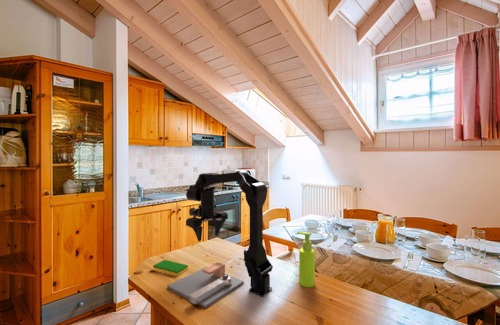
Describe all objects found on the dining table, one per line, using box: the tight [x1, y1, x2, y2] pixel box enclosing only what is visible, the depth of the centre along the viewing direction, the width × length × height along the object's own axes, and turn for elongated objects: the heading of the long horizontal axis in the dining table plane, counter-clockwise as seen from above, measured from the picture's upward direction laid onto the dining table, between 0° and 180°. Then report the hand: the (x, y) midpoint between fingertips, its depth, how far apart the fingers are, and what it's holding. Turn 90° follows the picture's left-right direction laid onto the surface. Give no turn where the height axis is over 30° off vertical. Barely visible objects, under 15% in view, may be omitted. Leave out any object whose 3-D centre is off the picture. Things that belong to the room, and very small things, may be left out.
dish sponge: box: [152, 259, 189, 277], centre depth 113 cm, size 7×14×2 cm, turn 64°
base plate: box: [166, 266, 244, 309], centre depth 100 cm, size 21×20×1 cm
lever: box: [189, 273, 233, 305], centre depth 94 cm, size 18×5×3 cm, turn 142°
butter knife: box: [225, 252, 242, 265], centre depth 119 cm, size 1×27×3 cm
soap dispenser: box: [296, 230, 316, 288], centre depth 101 cm, size 6×7×20 cm
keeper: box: [202, 261, 226, 277], centre depth 104 cm, size 4×8×4 cm, turn 143°
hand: (208, 238), depth 111 cm, fingers open, 9 cm apart
